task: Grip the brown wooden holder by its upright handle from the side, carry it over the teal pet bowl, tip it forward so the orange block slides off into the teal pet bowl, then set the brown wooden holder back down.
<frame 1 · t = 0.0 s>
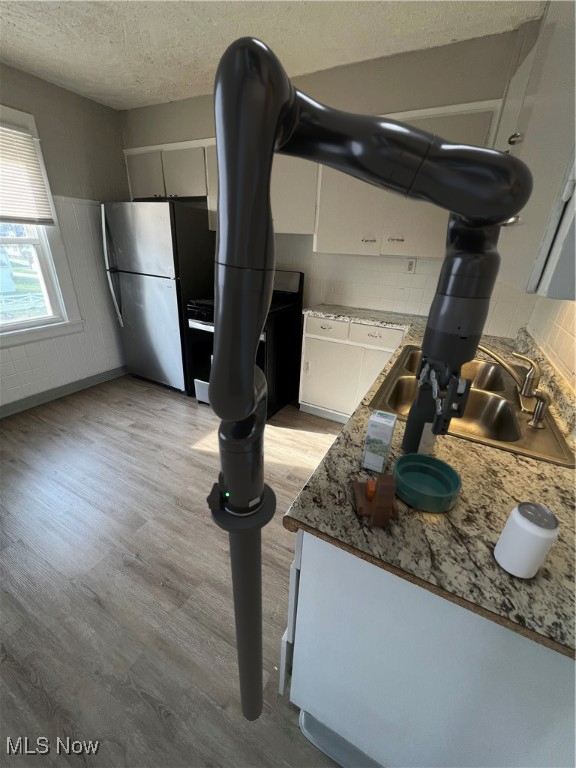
hand: (429, 419, 53), 25 cm above the counter, tool pointing down, fingers open, 8 cm apart
block: (373, 495, 69), point 1 cm above the counter, touching brown wooden holder
wine bottle: (415, 451, 86), on the counter
teal pet bowl: (422, 489, 73), on the counter
can: (513, 563, 57), on the counter
brown wooden holder: (378, 520, 64), on the counter, touching block
syrup box: (374, 465, 80), on the counter
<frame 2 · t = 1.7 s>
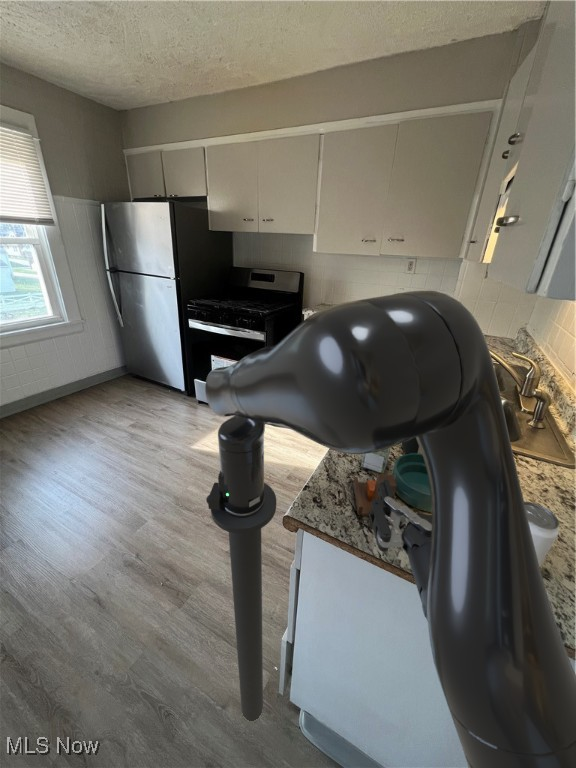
hand: (413, 485, 46), 20 cm above the counter, tool horizontal, fingers open, 8 cm apart
nothing on the counter moved.
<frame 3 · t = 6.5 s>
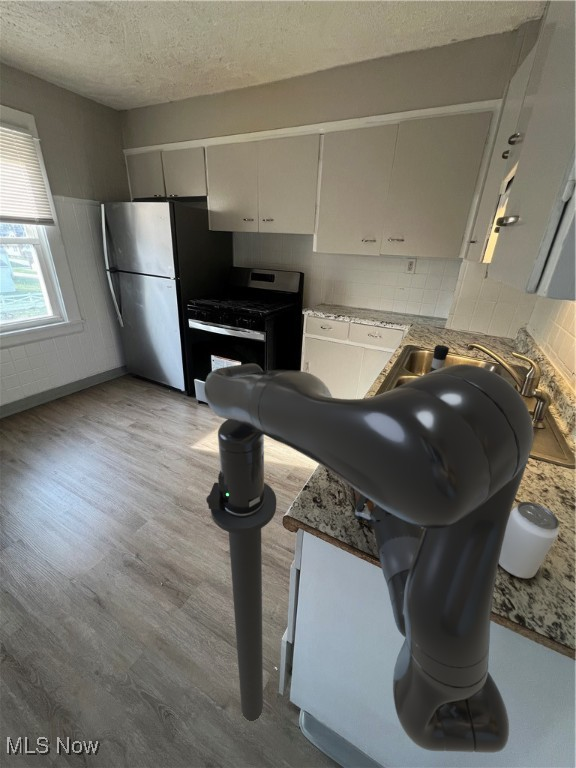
hand: (382, 477, 63), 9 cm above the counter, tool horizontal, fingers closed on brown wooden holder, 3 cm apart
brown wooden holder: (378, 520, 64), on the counter, touching block, gripper
everything else where it was.
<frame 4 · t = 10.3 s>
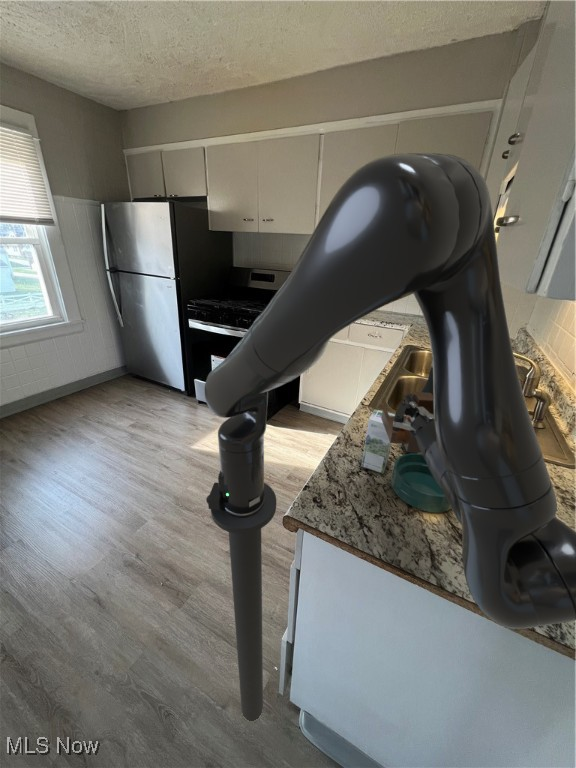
hand: (417, 398, 58), 26 cm above the counter, tool horizontal, fingers closed on brown wooden holder, 3 cm apart
block: (405, 426, 64), point 18 cm above the counter, touching brown wooden holder
brown wooden holder: (412, 447, 59), point 17 cm above the counter, touching block, gripper
everything else where it was.
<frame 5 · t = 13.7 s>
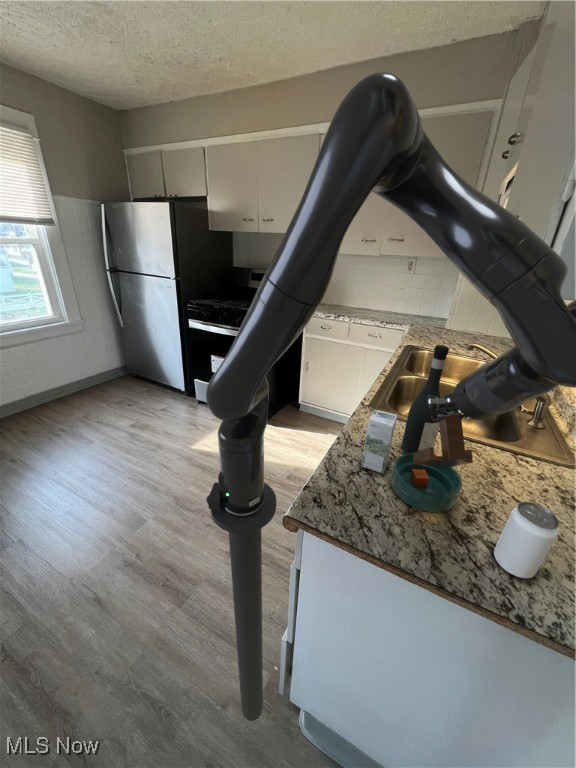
hand: (442, 416, 64), 20 cm above the counter, tool tilted 45°, fingers closed on brown wooden holder, 3 cm apart
block: (417, 483, 74), resting on teal pet bowl
brown wooden holder: (454, 460, 58), point 15 cm above the counter, tilted 45°, touching gripper
everything else where it was.
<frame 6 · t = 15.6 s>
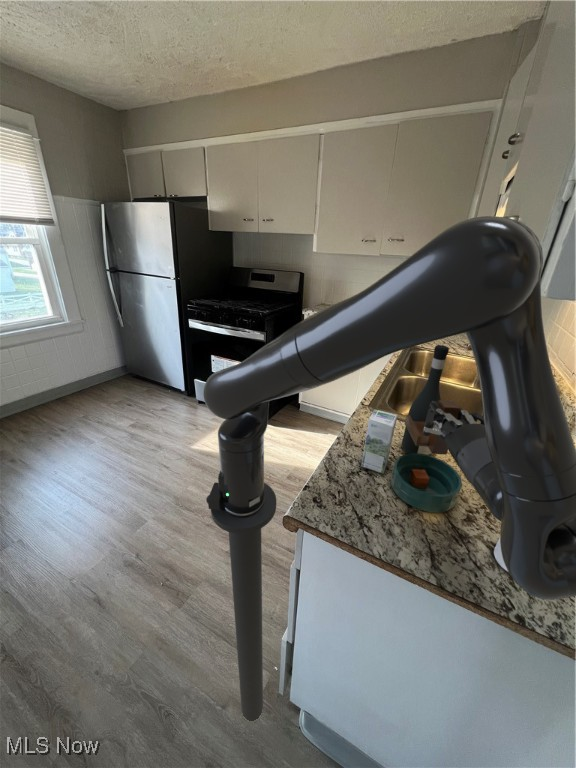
hand: (441, 405, 64), 22 cm above the counter, tool horizontal, fingers closed on brown wooden holder, 3 cm apart
brown wooden holder: (436, 449, 65), point 13 cm above the counter, touching gripper
everything else where it was.
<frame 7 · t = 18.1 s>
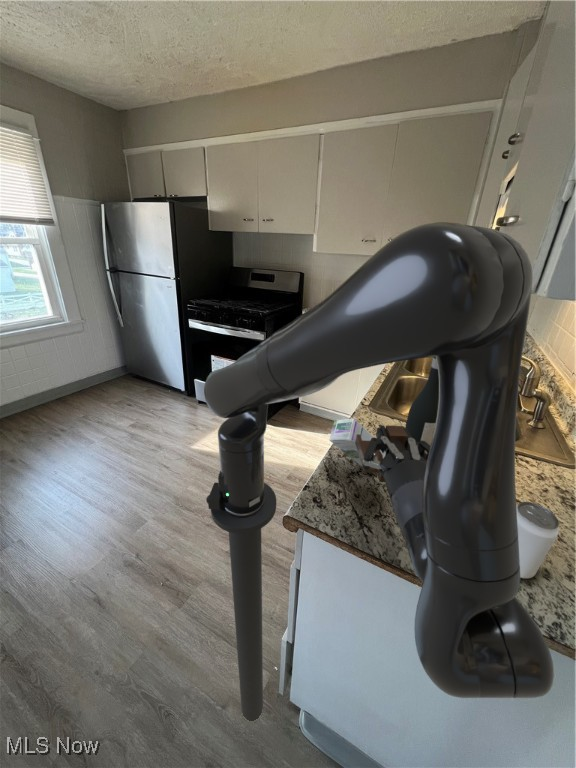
hand: (390, 430, 58), 20 cm above the counter, tool horizontal, fingers closed on brown wooden holder, 3 cm apart
brown wooden holder: (385, 476, 60), point 11 cm above the counter, touching gripper, syrup box
syrup box: (372, 457, 79), point 2 cm above the counter, touching brown wooden holder
everything else where it was.
when the fingers open (9 cm above the counter, at t = 20.6 s): brown wooden holder stays where it is, on the counter.
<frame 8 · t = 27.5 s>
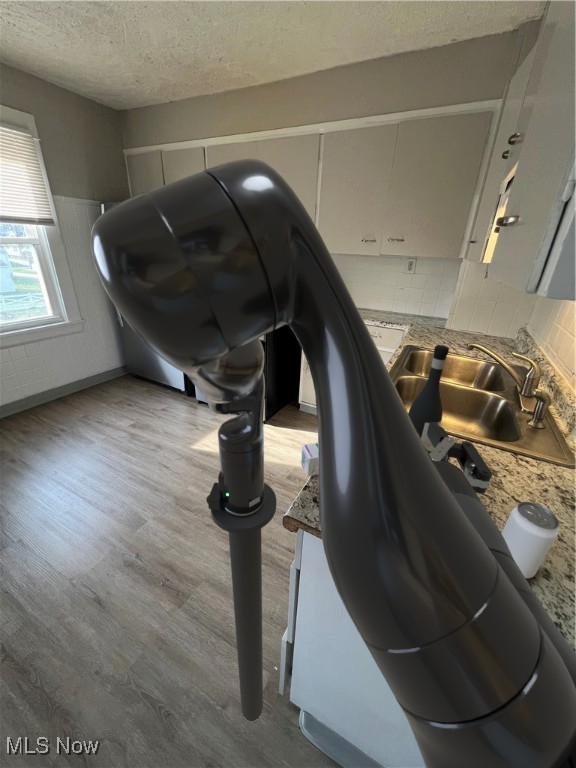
hand: (398, 425, 42), 30 cm above the counter, tool horizontal, fingers open, 8 cm apart
brown wooden holder: (378, 518, 65), on the counter
syrup box: (358, 451, 80), point 3 cm above the counter
everything else where it was.
at the end: block inside the target area in the teal pet bowl (1.5 cm from its centre), point 0.5 cm above the teal pet bowl's base; brown wooden holder tilted 0° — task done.
